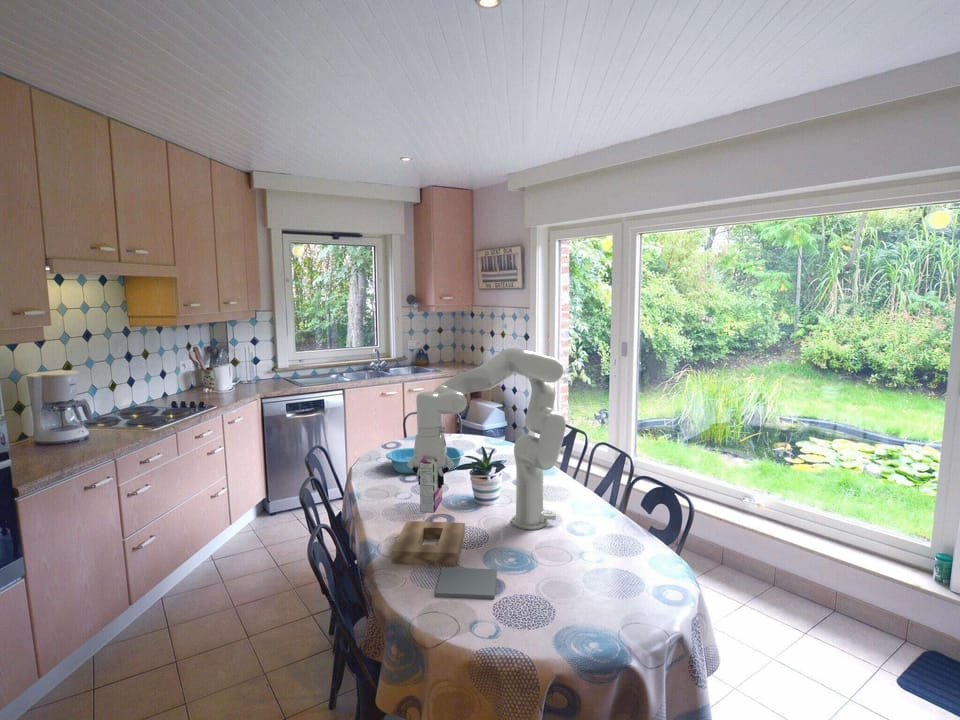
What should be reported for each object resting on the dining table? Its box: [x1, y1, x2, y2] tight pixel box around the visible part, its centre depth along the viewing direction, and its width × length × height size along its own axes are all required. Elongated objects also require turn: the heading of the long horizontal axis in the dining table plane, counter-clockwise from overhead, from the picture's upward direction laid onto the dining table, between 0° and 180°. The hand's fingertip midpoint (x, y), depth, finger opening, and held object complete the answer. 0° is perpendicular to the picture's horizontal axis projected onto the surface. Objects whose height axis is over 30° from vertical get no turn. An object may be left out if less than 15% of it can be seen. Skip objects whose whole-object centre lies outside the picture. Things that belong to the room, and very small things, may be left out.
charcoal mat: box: [434, 566, 498, 600], centre depth 154 cm, size 16×14×1 cm
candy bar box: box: [419, 459, 443, 514], centre depth 173 cm, size 11×5×16 cm, turn 171°
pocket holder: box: [391, 520, 466, 567], centre depth 175 cm, size 20×22×4 cm
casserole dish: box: [385, 446, 465, 474], centre depth 257 cm, size 37×22×7 cm, turn 103°
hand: (431, 486), depth 173 cm, fingers closed on candy bar box, 5 cm apart
